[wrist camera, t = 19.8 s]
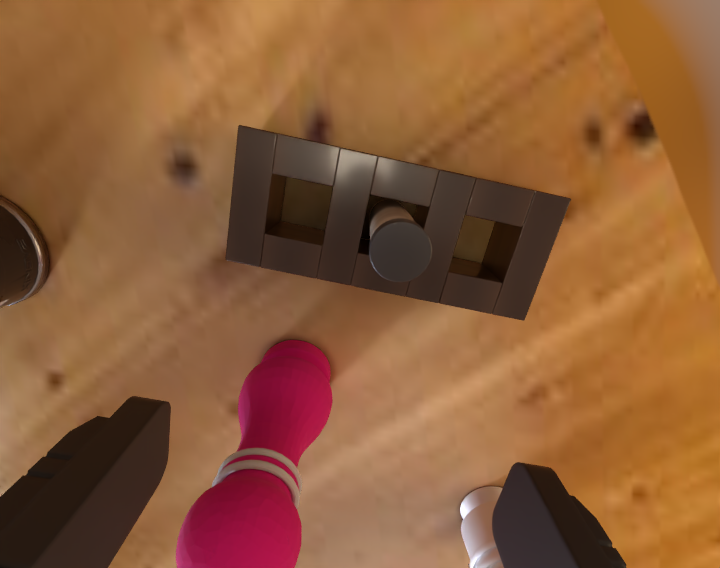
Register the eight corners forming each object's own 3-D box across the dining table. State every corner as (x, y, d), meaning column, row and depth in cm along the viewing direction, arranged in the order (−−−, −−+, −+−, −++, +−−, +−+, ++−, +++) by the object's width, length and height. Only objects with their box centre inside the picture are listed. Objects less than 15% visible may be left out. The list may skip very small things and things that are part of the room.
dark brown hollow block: (246, 244, 30) (224, 260, 26) (259, 129, 28) (237, 124, 23) (500, 296, 31) (524, 320, 27) (537, 191, 29) (571, 198, 24)
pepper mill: (263, 325, 33) (121, 561, 14) (344, 344, 33) (315, 597, 14) (250, 394, 35) (114, 678, 16) (326, 410, 35) (282, 705, 16)
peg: (363, 234, 30) (363, 275, 20) (372, 193, 29) (376, 215, 18) (403, 242, 30) (423, 288, 20) (413, 202, 29) (439, 228, 19)
